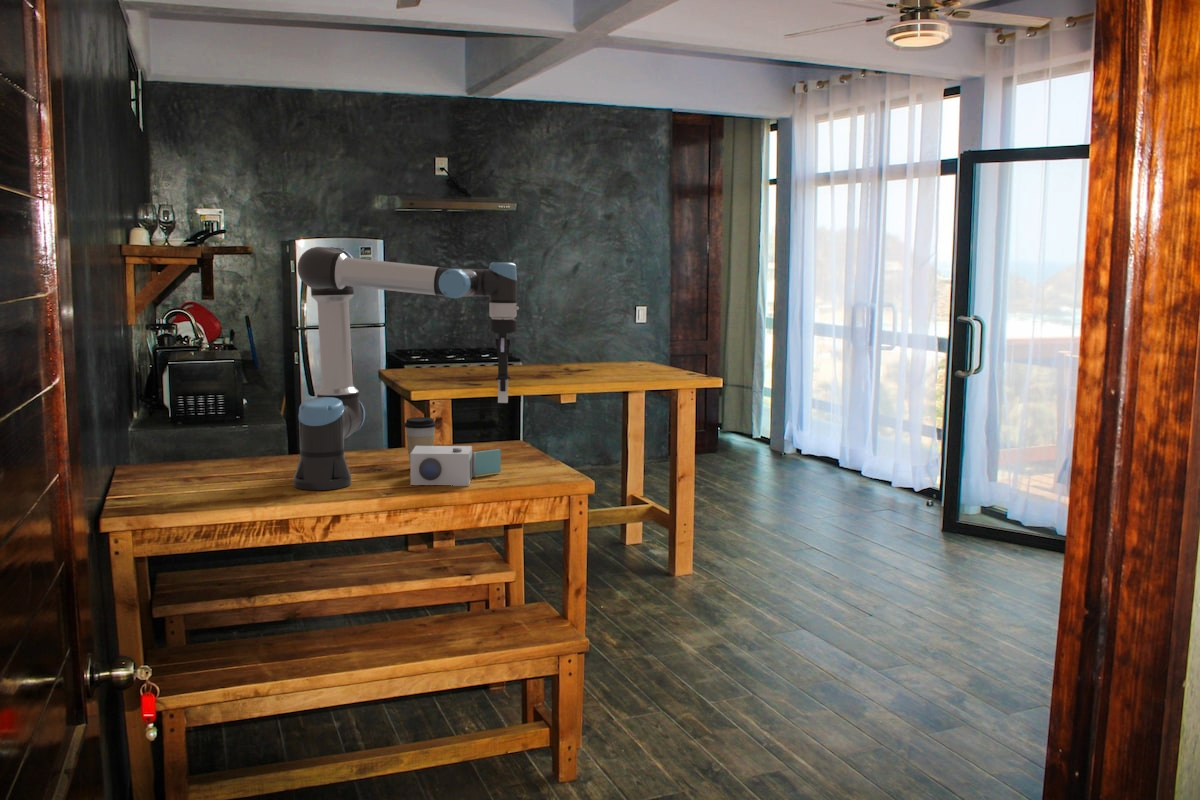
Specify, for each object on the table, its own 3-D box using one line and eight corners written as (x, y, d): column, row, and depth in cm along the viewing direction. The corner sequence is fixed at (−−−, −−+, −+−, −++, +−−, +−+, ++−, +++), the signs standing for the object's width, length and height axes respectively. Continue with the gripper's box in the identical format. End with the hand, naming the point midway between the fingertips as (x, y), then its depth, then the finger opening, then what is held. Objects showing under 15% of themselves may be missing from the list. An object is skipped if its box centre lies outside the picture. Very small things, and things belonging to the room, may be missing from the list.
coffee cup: (429, 472, 288) (429, 422, 286) (399, 471, 290) (398, 420, 288) (441, 466, 297) (440, 417, 295) (411, 464, 299) (411, 416, 297)
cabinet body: (409, 486, 270) (409, 451, 268) (415, 476, 283) (415, 443, 281) (469, 487, 271) (469, 451, 269) (472, 476, 284) (472, 443, 282)
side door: (473, 477, 282) (473, 452, 281) (469, 476, 284) (469, 451, 283) (501, 473, 288) (501, 449, 287) (497, 472, 290) (497, 448, 289)
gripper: (516, 319, 267) (515, 405, 270) (517, 317, 280) (516, 399, 283) (488, 319, 267) (488, 405, 270) (490, 317, 279) (490, 399, 283)
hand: (502, 402), depth 276 cm, fingers closed
